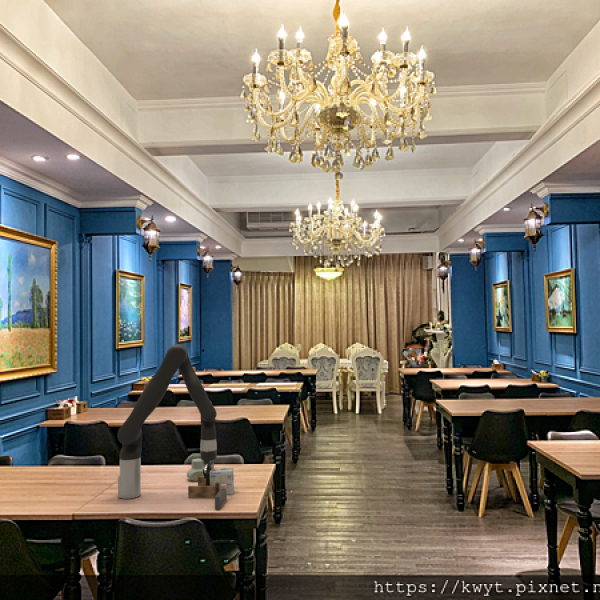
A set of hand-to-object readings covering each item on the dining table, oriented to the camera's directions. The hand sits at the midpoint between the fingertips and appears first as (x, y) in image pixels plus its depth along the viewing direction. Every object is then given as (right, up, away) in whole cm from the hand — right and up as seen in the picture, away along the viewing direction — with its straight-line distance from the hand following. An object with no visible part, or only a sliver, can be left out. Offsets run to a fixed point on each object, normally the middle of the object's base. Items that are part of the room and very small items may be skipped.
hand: (208, 486), depth 252 cm
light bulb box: (+7, -3, -2) cm, 7 cm away
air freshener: (-9, -5, +23) cm, 25 cm away
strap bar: (+8, -1, -19) cm, 21 cm away
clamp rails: (0, -3, 0) cm, 3 cm away
